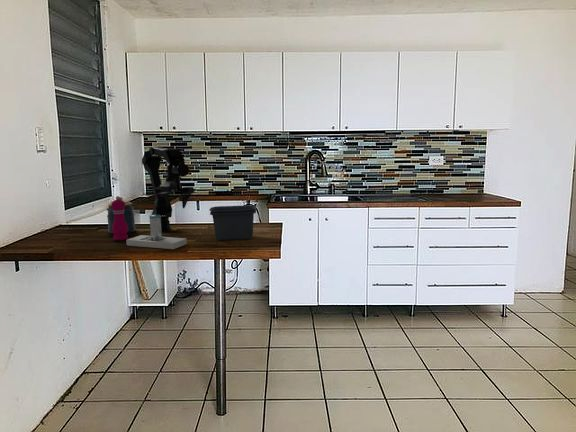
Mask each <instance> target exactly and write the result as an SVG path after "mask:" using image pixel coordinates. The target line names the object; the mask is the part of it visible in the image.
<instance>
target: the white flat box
mask: <svg viewBox="0 0 576 432" xmlns="http://www.w3.org/2000/svg"><path fill="white" fill-rule="evenodd" d="M125 240H126V241H125V242H126V246H129V247H142V248H153V249H154V248H155V249H166V250H167V249H168V250H175V249H177V248H180V247H182V246H185V245H187V244H188V243H187V238H186V237H172V236H171V237H170V236H162V240H161V241H151V235H145V234H143V235H142V234H140V235H138V236H134V237H131V238H127V239H125Z"/></svg>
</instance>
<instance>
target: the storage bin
mask: <svg viewBox="0 0 576 432" xmlns="http://www.w3.org/2000/svg"><path fill="white" fill-rule="evenodd" d="M208 211H210V213H209V215H210V216H212V220H213V226H214V227H213V228H214V233H215V234H214V236H215V240H216V241H224V240H225V241H227V240H228V241H229V240H230V241H231V240H251V239H253V237H254V236H253V235H254V219H255V214H256V212H257V205H221V206H212V207H209V209H208Z"/></svg>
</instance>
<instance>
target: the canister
mask: <svg viewBox="0 0 576 432" xmlns="http://www.w3.org/2000/svg"><path fill="white" fill-rule="evenodd" d="M119 197H120V199H119V200H123V201H124V202H125V208H124V209H123V210H124V212H125V213H124V219H125V222H126V224H127V226H128V232H127V233H126V234H130V233H133V232H134V233H135V231H136V223H135V222H136V221H135V213H134V209H135V207H134V206H132V205H133V202H131V201H130V200H126V199H125V200H124V199H123V197H121V196H119ZM113 201H114V200H113ZM113 201H110V202H109V203H108V204H107V206H108V207H107V208H106V211H107V216H106V217H107V226H108V227H107V231H108V233H109V234H113V235H115V234H114V233H113V232H112V226H113V223H114V213H113V210H114V209H113V208H112V206H111V204H112V202H113Z"/></svg>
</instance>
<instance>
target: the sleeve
mask: <svg viewBox="0 0 576 432" xmlns="http://www.w3.org/2000/svg"><path fill="white" fill-rule="evenodd" d="M149 227H150V228H149V230H150V232H149V233H150V236H151V241H161V240H162V237H163V236H162V232H163V231H161V216H160V215H151V214H150V215H149Z"/></svg>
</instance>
